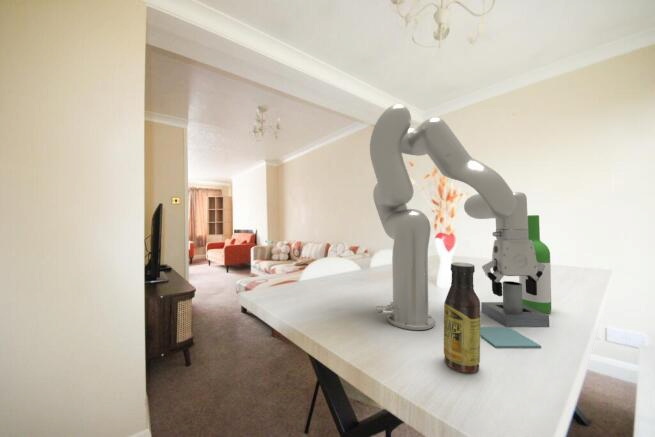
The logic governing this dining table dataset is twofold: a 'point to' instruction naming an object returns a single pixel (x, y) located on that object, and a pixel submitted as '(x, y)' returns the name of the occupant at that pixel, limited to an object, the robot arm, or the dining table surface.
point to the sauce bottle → (462, 321)
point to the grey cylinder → (512, 296)
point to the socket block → (515, 315)
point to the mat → (506, 338)
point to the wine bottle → (544, 284)
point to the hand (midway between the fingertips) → (514, 294)
